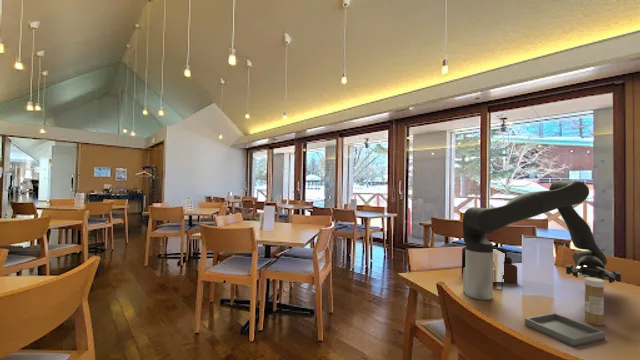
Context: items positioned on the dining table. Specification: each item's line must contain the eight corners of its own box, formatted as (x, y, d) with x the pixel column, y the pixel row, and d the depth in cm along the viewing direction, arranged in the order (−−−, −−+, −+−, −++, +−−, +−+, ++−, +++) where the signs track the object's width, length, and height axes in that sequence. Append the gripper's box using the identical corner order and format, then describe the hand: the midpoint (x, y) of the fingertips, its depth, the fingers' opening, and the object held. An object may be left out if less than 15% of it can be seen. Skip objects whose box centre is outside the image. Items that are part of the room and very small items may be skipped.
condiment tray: (524, 324, 90) (524, 318, 90) (554, 319, 94) (554, 312, 95) (573, 347, 78) (574, 339, 78) (604, 339, 82) (604, 332, 82)
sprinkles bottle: (584, 318, 96) (584, 275, 96) (604, 322, 93) (604, 279, 93) (583, 322, 92) (584, 278, 93) (604, 327, 89) (604, 282, 90)
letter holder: (461, 275, 141) (461, 244, 141) (505, 277, 139) (506, 246, 139) (469, 281, 131) (470, 249, 131) (517, 284, 129) (518, 251, 129)
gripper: (566, 254, 118) (565, 262, 106) (617, 260, 109) (623, 270, 97) (566, 273, 118) (565, 283, 106) (617, 281, 109) (623, 293, 97)
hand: (593, 277), depth 101 cm, fingers open, 8 cm apart
